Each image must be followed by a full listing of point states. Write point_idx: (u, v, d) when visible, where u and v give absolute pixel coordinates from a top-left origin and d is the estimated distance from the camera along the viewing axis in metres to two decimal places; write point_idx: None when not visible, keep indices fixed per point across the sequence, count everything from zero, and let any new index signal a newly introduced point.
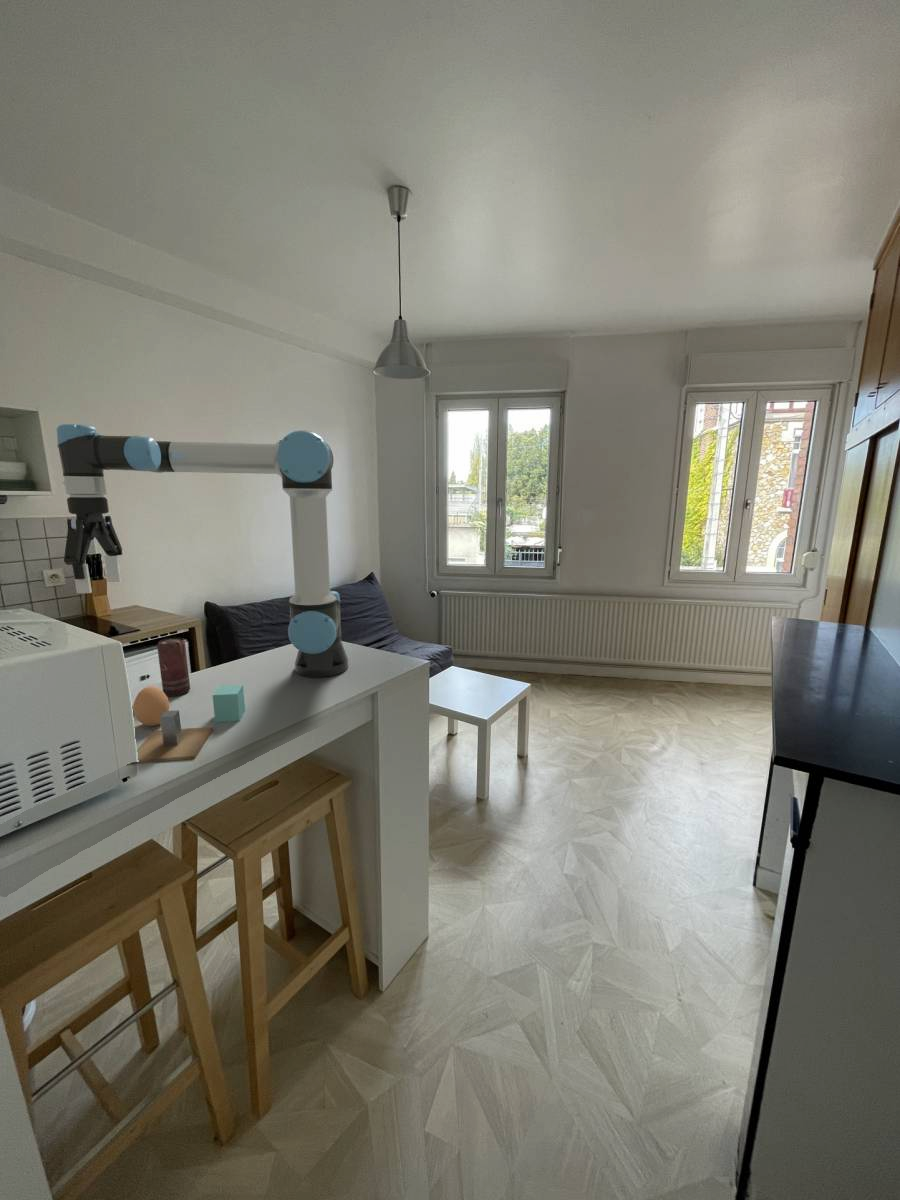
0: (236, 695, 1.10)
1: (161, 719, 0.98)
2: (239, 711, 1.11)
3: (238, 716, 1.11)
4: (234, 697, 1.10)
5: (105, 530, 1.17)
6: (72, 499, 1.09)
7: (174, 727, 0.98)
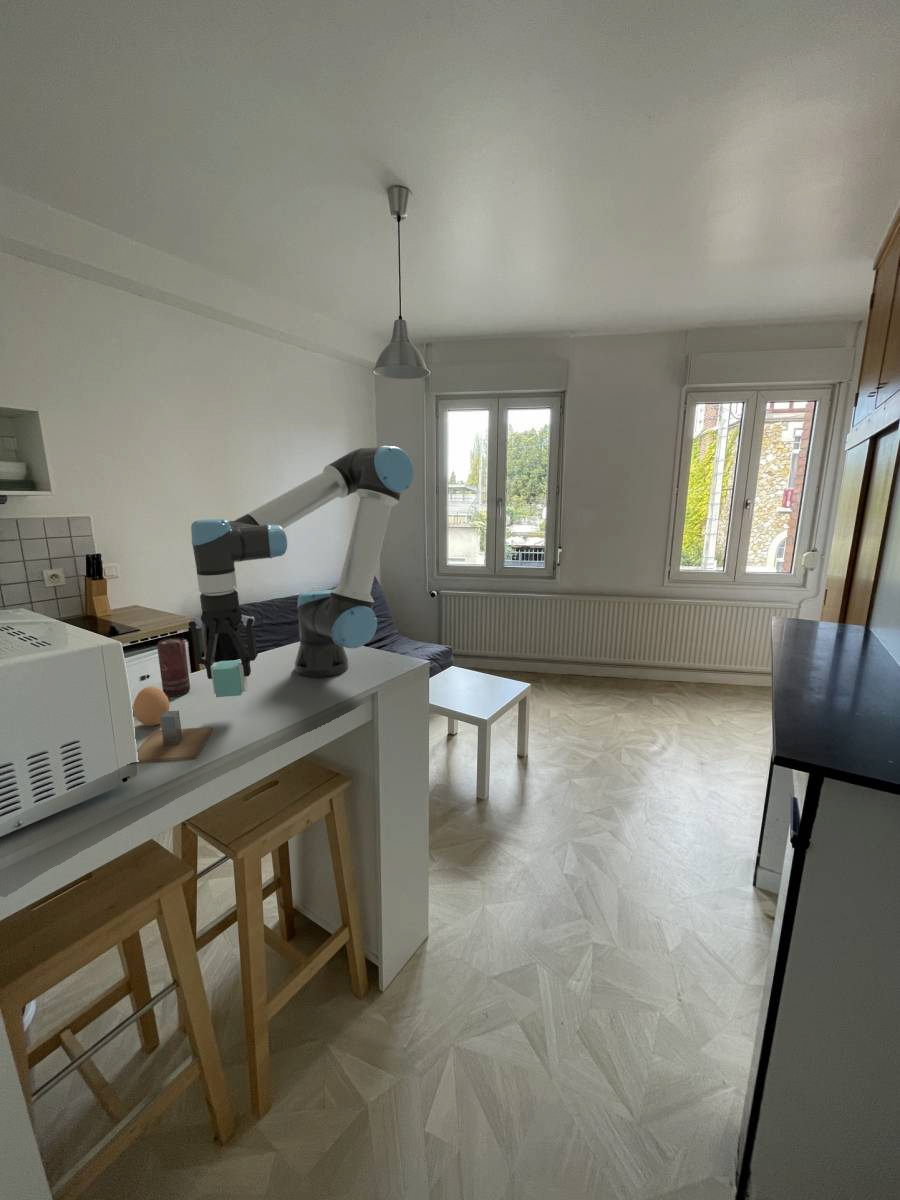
0: (236, 669, 1.09)
1: (161, 719, 0.98)
2: (240, 685, 1.10)
3: (239, 690, 1.10)
4: (235, 672, 1.09)
5: (229, 629, 1.07)
6: None
7: (174, 727, 0.98)
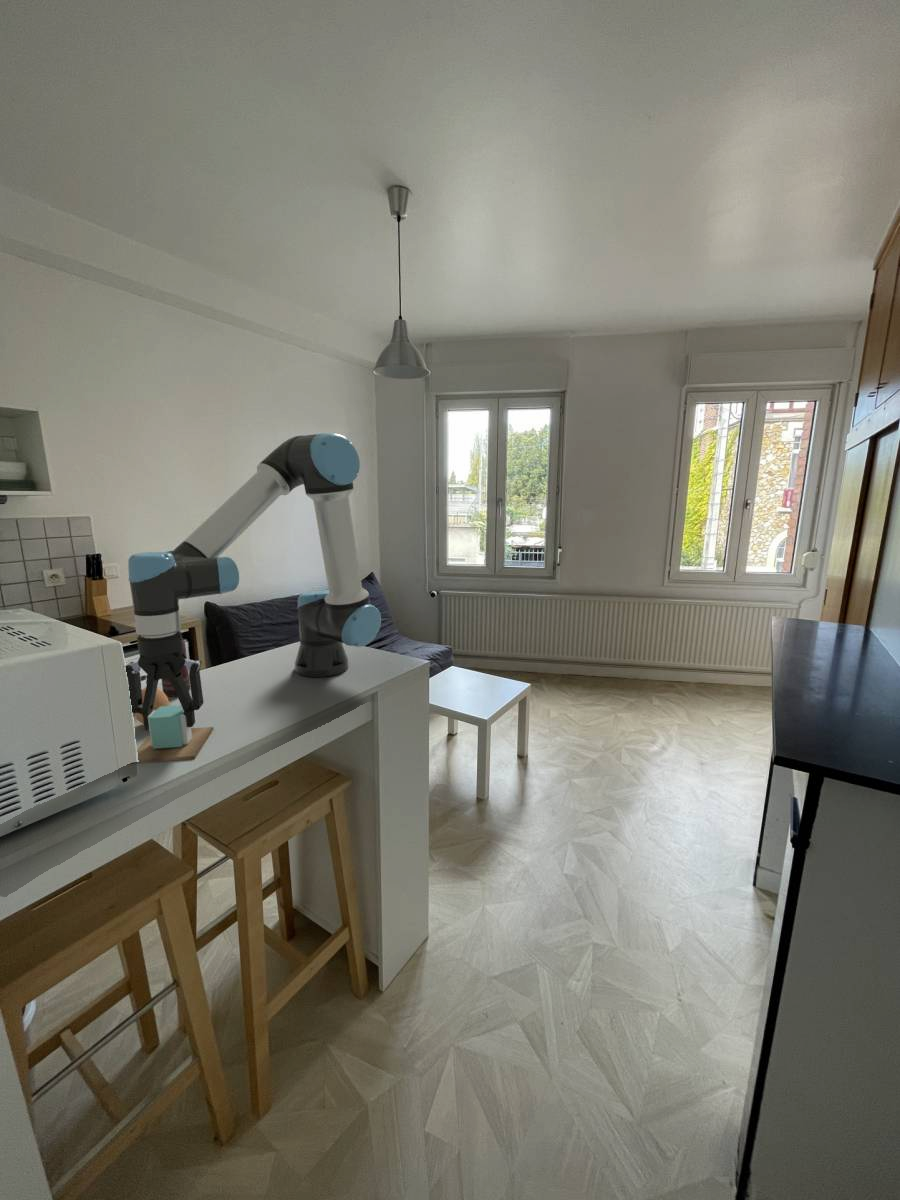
0: (176, 718, 0.97)
1: None
2: (181, 736, 0.98)
3: (179, 741, 0.98)
4: (175, 720, 0.97)
5: (169, 676, 0.96)
6: None
7: None
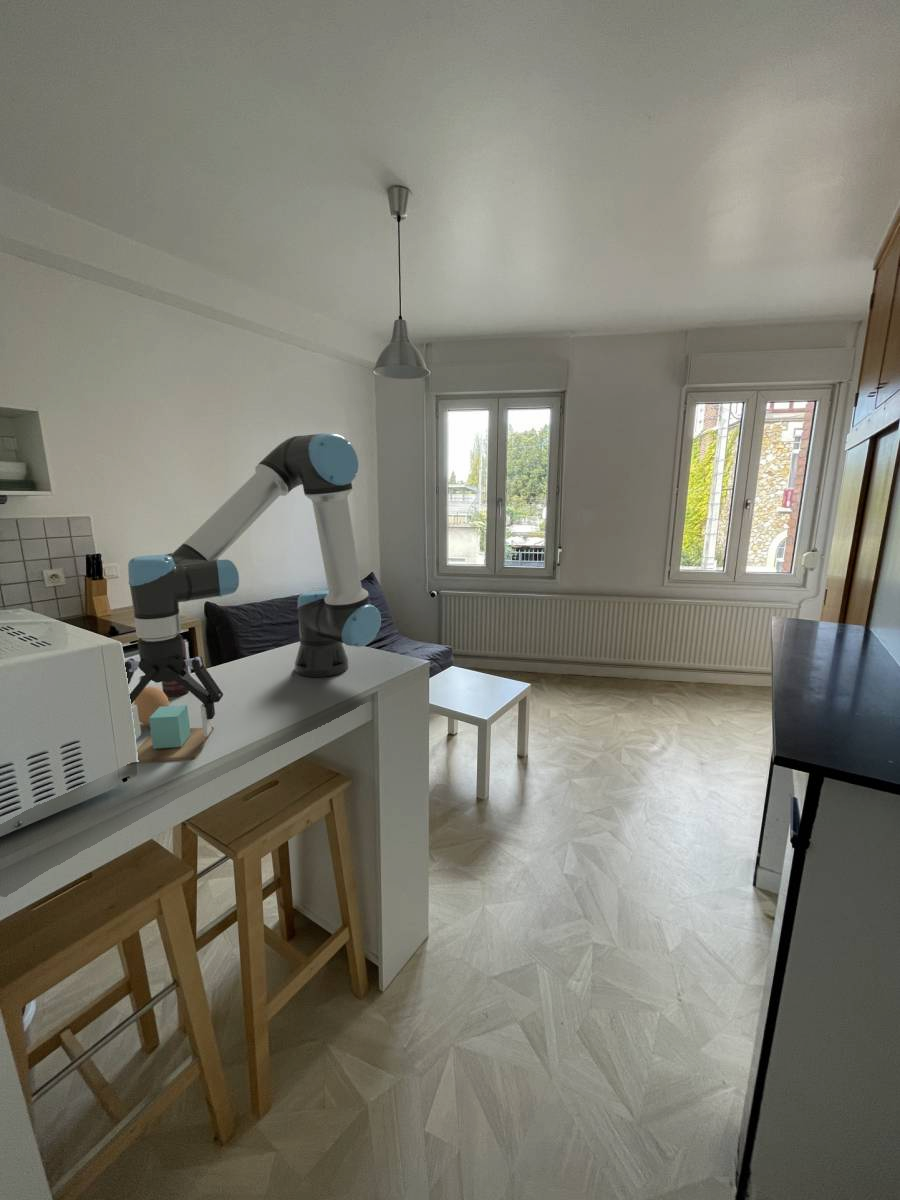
0: (176, 718, 0.97)
1: None
2: (181, 736, 0.98)
3: (179, 741, 0.98)
4: (175, 720, 0.97)
5: (174, 677, 0.96)
6: None
7: None
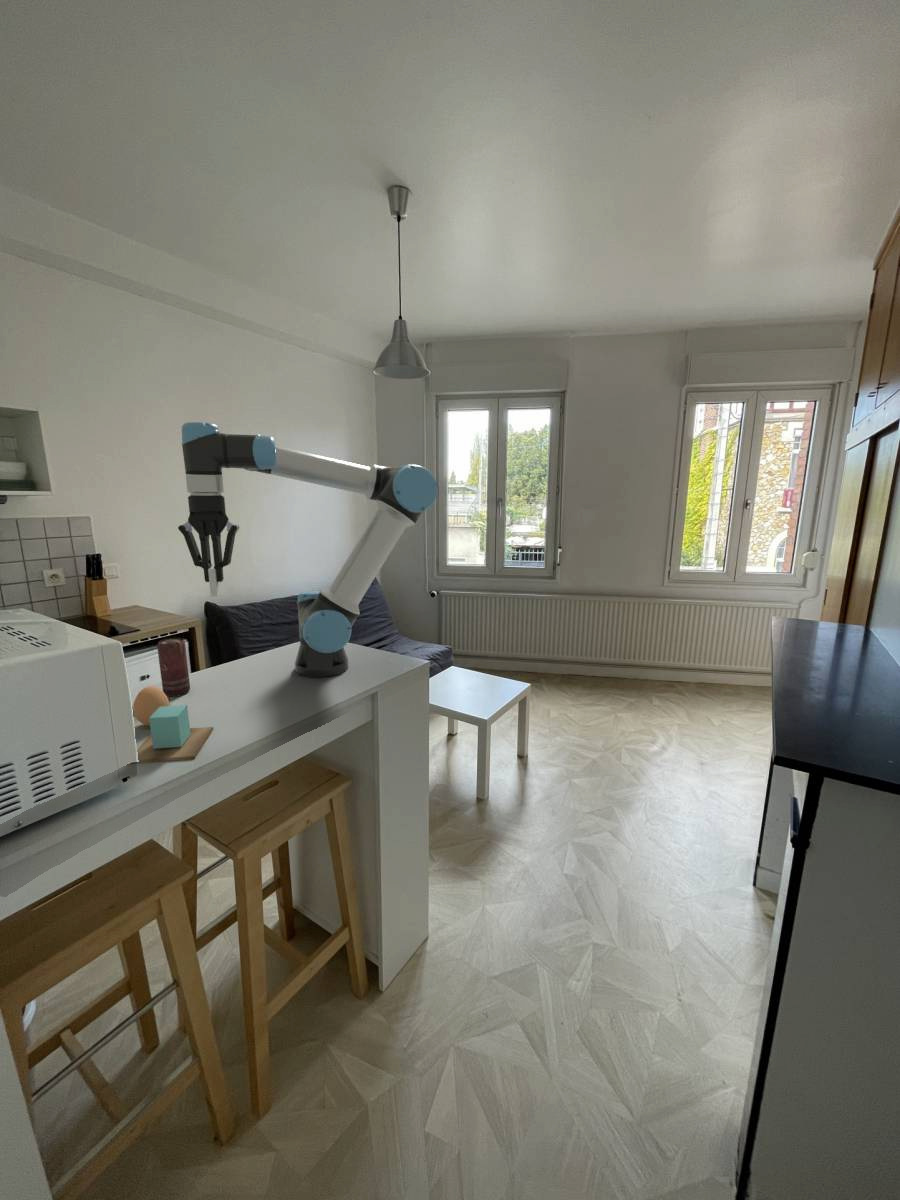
0: (176, 718, 0.97)
1: None
2: (181, 736, 0.98)
3: (179, 741, 0.98)
4: (175, 720, 0.97)
5: (212, 531, 1.12)
6: None
7: None
